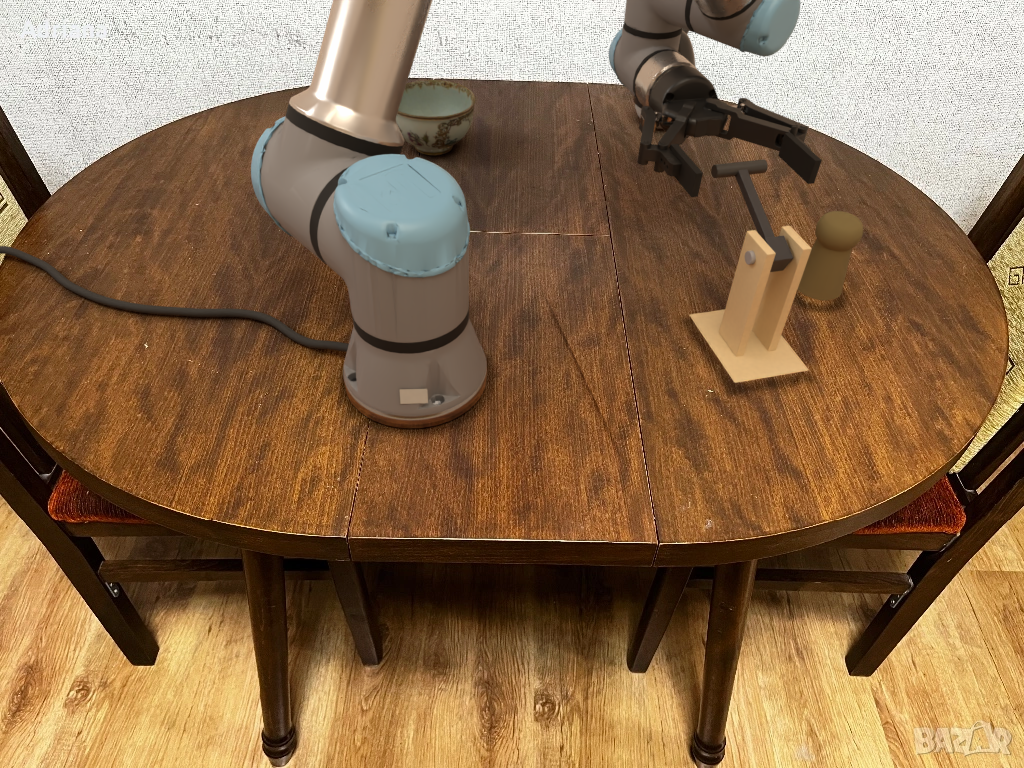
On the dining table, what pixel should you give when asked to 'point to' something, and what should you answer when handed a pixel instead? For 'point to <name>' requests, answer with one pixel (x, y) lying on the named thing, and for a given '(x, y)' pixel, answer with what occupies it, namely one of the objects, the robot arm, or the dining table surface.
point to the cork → (830, 255)
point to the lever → (756, 206)
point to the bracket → (757, 312)
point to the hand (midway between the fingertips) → (757, 178)
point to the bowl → (435, 115)
